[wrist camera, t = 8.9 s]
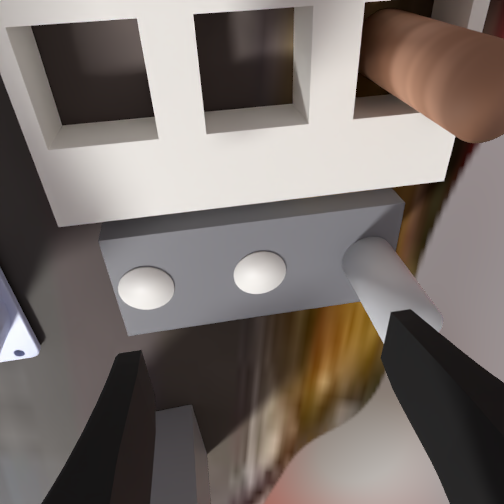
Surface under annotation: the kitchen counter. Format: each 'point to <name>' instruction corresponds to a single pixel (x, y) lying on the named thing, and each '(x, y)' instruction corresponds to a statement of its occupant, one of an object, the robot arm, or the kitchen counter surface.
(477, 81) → the terracotta pin
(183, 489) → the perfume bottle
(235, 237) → the studded grey block
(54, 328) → the kitchen counter surface
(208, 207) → the peg board
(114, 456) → the robot arm
